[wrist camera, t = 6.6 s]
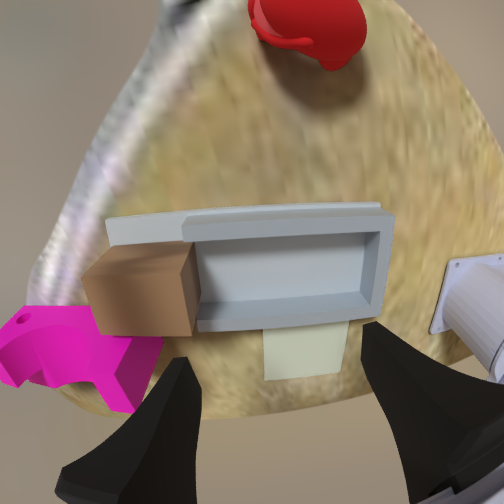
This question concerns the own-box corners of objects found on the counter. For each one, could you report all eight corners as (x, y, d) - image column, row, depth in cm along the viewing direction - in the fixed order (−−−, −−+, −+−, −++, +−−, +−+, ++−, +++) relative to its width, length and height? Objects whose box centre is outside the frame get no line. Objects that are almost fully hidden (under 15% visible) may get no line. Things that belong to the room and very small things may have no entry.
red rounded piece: (207, 11, 11) (280, 52, 10) (269, -61, 8) (360, -34, 6) (281, 52, 17) (340, 96, 16) (328, 0, 14) (394, 39, 13)
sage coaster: (348, 306, 22) (350, 310, 21) (338, 367, 25) (339, 371, 24) (261, 314, 22) (262, 319, 21) (264, 376, 25) (264, 380, 24)
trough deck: (376, 201, 19) (395, 211, 16) (366, 299, 22) (379, 318, 19) (108, 218, 18) (90, 230, 16) (131, 313, 21) (120, 334, 19)
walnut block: (194, 239, 19) (179, 273, 14) (201, 292, 20) (192, 336, 16) (113, 245, 19) (80, 277, 14) (125, 295, 20) (100, 334, 15)
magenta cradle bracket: (48, 354, 23) (16, 401, 16) (24, 305, 21) (-19, 349, 14) (171, 364, 23) (150, 434, 16) (150, 303, 20) (113, 374, 13)
